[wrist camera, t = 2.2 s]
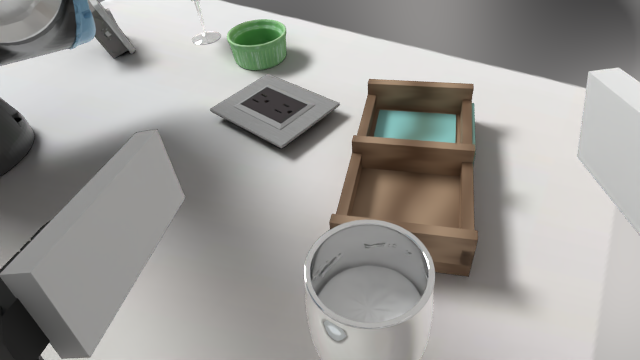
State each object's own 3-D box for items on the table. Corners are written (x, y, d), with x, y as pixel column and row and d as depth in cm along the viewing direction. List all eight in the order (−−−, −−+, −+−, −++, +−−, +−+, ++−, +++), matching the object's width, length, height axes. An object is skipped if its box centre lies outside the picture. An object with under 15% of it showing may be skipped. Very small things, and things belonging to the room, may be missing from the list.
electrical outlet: (340, 116, 58) (339, 101, 57) (283, 159, 53) (280, 144, 51) (270, 86, 65) (267, 71, 63) (213, 122, 60) (209, 107, 58)
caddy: (333, 258, 41) (329, 222, 38) (369, 113, 57) (369, 79, 54) (472, 276, 39) (481, 240, 35) (469, 119, 55) (476, 84, 51)
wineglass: (182, 35, 79) (160, -37, 71) (219, 25, 81) (202, -46, 72) (191, 51, 74) (168, -25, 66) (230, 40, 76) (213, -35, 68)
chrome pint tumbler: (306, 415, 32) (274, 301, 21) (343, 330, 36) (332, 202, 26) (401, 460, 29) (416, 356, 19) (429, 363, 34) (454, 236, 23)
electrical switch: (137, 53, 75) (109, 0, 69) (108, 66, 74) (76, 13, 67) (123, 34, 81) (96, -17, 75) (95, 46, 80) (66, -5, 73)
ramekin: (221, 66, 70) (214, 39, 67) (256, 40, 75) (251, 15, 72) (267, 78, 66) (262, 50, 63) (300, 50, 71) (297, 24, 68)
